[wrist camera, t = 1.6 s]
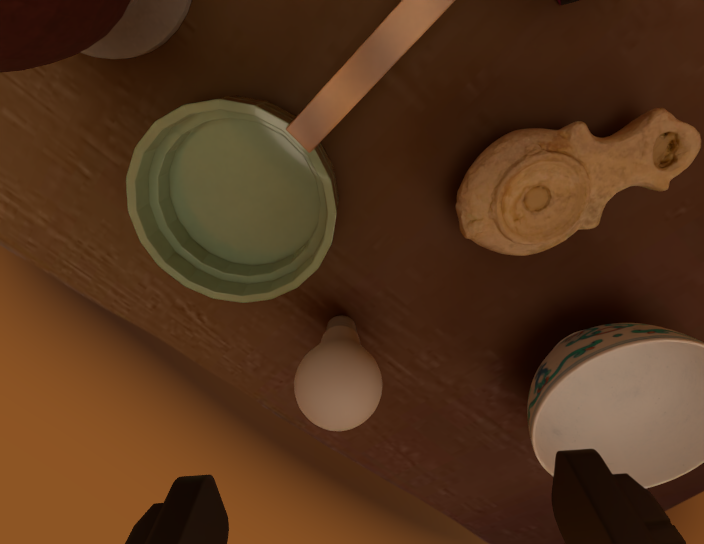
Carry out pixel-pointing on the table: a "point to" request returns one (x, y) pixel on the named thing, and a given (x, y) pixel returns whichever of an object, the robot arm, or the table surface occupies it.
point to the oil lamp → (565, 179)
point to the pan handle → (365, 69)
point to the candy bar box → (566, 1)
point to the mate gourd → (84, 29)
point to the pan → (232, 199)
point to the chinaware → (622, 400)
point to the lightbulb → (338, 379)
